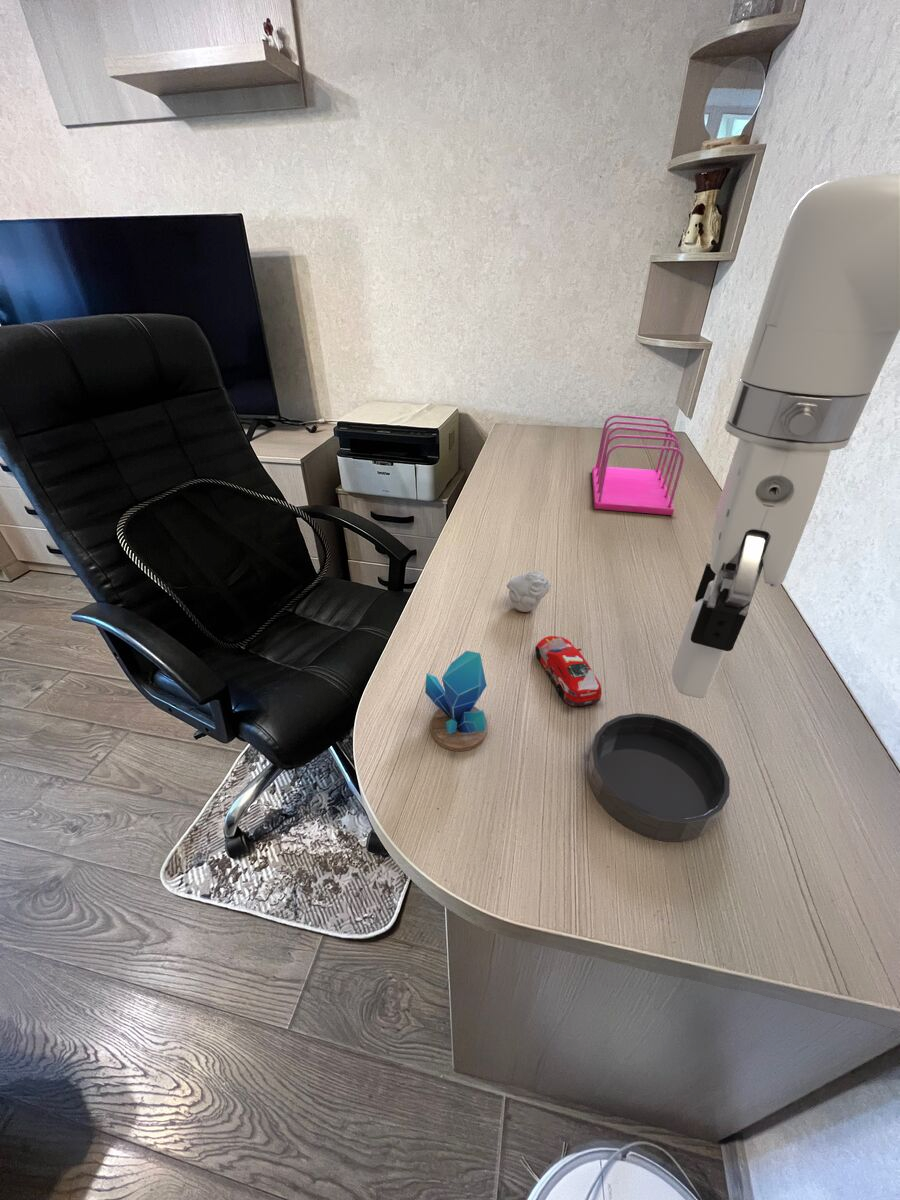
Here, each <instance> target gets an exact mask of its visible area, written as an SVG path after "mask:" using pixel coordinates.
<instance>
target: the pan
mask: <svg viewBox="0 0 900 1200" xmlns="http://www.w3.org/2000/svg"><path fill="white" fill-rule="evenodd" d="M594 735H595V736H594V738H593V743H592V746H591V750H590V754H589V758H588V762H587V778H588V782H589V785H590V788H591V790H592V793H593V795H594V796H595V798H596V800H597V801H598V803H599V804H600V805H601V806H602V808H603V809H604V810H605V812H607V813H608V814H609V816H610V817H612V818H613V819H614V820H615V821H617V822H618V823H619V824H621V825H622V826H623V827H625V828H627V829H628V830H630V831H632V832H634V833H636V834H638V835H641V836H642V837H645V838H649V839H652V840H655V841H658V842H659V841H660V842H667V843H681V842H688V841H692V840H695V839H698V838H700V837H702V836H703V835H705V834H706V833H707V832H708V831H710V830H711V829H712V827H714V825H715V824H716V822H717V820H718V819H719V816H720V814H721V813H722V811H723V809H724V807H725V805H726V803H727V801H728V799H729V797H730V793H731V792H730V791H731V789H730V788H731V787H730V783H731V782H730V780H731V778H730V775H729V773H728V770H727V768H726V766H725V762H724V760H723V759H722V757H720V755H719V754H718V752H717V751H716V750H715V749H714V747H713V746H712V744H710V742H708V741H707V740H706V739H704V738H703V737H702V736H701V735H699V734H698V732H696V731H695V730H693V729H691V728H689V727H687V726H686V725H684V724H682V723H680V722H678V721H676V720H674V719H669V718H668V717H663V716H660V715H657V714H650V713H649V714H648V713H637V712H635V713H629V714H623V715H618V716H616V717H614V718H612V719H610V720H608V721H606V722H604V724H603V725H602V726H601V727H600V728H599V730H598V731H597V732H596V733H595V734H594Z"/></svg>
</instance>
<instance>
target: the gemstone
mask: <svg viewBox="0 0 900 1200" xmlns="http://www.w3.org/2000/svg"><path fill="white" fill-rule="evenodd" d="M425 676H426V677H425V688H424V689H425V690H424V693H425V694H426V695H427V697H428V698H429V699H430V700H431V702H433V704H434V705H435V706H436V707H438V709H436V710H435V712H434V713H433V715H432V716H431V719H430V722H429V723H430V724H429V725H430V726H429V727H430V728H429V729H430V734H431V737H432V738H433V740H434V741H435V742H436V743H437V744H438V745H439V746H441V747H442V748H445V749H447V750H450V751H454V752H455V751H457V752H458V751H459V752H463V751H468V750H472V749H474V748H476V747H478V746H480V745H481V744H482V742H483V741H484V740H485V738H486V737H487V734H488V727H489V726H488V720H487V717H486V715H485V712H484V709H479V708H478V707H476V704H477V702H478V701H479V699H480V697H481V696H482V694H483V693H484V691H485V690H486V688H487V685H488V684H487V681H486V680H487V679H486V676H485V671H484V666H483V660H482V655H481V652H476V651H471V650H465V651H464V652H463V653H461V654H460V655H459V656H457V658H455V659H454V660H453V661H451V663H450V665H449V666H448V668H447V669H446V671H445V672H444V674H443V675H442V677H441V681H442V684H441V682H440V681H439V679H438V677H437V676H436V675H432V674H430V673H427V672H426V675H425ZM442 685H443V686H442Z"/></svg>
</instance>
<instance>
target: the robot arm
mask: <svg viewBox="0 0 900 1200" xmlns="http://www.w3.org/2000/svg"><path fill="white" fill-rule="evenodd" d="M784 231H785V232H784V235H783V238H782V241H781V245H780V248H779V251H778V254H777V257H776V261H775V263H774V267H773V271H772V273H771V277H770V280H769V283H768V286H767V290H766V294H765V295H764V296H765V297H764V299H763V303H762V306H761V309H760V312H759V315H758V318H757V322H756V326H755V328H754V332H753V335H752V338H751V342H750V345H749V348H748V351H747V354H746V356H745V357H746V358H745V361H744V364H743V367H742V370H741V373H740V377H739V381H738V383H737V386H736V390H735V393H734V396H733V398H732V402H731V406H730V409H729V412H728V415H727V418H726V421H725V424H724V430H725V431H726V432H727V433H729V435H731V436H733V437H735V438H737V439H738V441H737V444H736V447H735V450H734V453H733V455H732V456H733V457H732V459H731V462H730V465H729V469H728V472H727V475H726V478H725V480H724V484H723V487H722V491H721V495H720V497H719V502H718V505H717V509H716V513H715V518H714V523H713V527H712V536H711V545H710V559H709V563H708V562H707V563H706V564H705V568H704V571H703V573H702V576H701V579H700V582H699V585H698V588H697V590H696V594H695V595H694V597H695V598H694V601H695V603H696V602H697V601H698V600H700V599H703V598H704V596H705V593H706V590H707V587H708V584H709V582H711V581H713V580H714V582H713V585H712V588H711V592H710V595H709V598H708V601H706V600H703V603H702V606H701V609H700V612H699V614H698V617H697V620H696V623H695V626H694V628H693V631H692V634H691V641H692V642H693V643H696V644H700V645H704V646H708V647H712V648H716V649H720V650H724V651H725V652H731V651H732V650H733V649H734V647H735V644H736V642H737V639H738V637H739V635H740V633H741V630H742V628H743V625H744V623H745V622H746V618H747V616H748V614H749V609H750V606H751V604H752V600H753V598H754V594H755V591H756V588H757V585H758V582H759V579H760V576H761V573H762V570H763V579H764V584H767V585H770V587H774V588H776V587H778V586H780V585H782V584H784V581H785V579H786V577H787V574H788V572H789V569H790V567H791V564H792V562H793V559H794V556H795V554H796V552H797V549H798V547H799V544H800V541H801V539H802V537H803V534H804V531H805V529H806V526H807V525H808V524H807V523H808V521H809V518H810V516H811V513H812V510H813V508H814V505H815V502H816V500H817V497H818V494H819V491H820V487H821V485H822V482H823V479H824V476H825V473H826V469H827V465H828V461H829V457H830V453H831V451H837V450H842V449H845V448H846V447H847V446H848V444H849V442H850V439H851V438H852V436H853V433H854V431H855V429H856V427H857V426H858V423H859V420H860V418H861V416H862V414H863V411H864V410H865V407H866V405H867V403H868V401H869V399H870V397H871V395H872V391H873V389H874V387H875V384H876V383H877V380H878V378H879V376H880V373H881V371H882V369H883V367H884V365H885V363H886V362H887V361H886V360H887V359H888V355H889V354H890V352H891V349H892V347H893V345H894V343H895V342H896V338H897V336H898V334H899V332H900V173H880V174H866V175H856V176H848V177H843V178H838V179H833V180H828V181H825V182H823V183H820V184H818V185H815V186H814V187H813V188H811V189H810V190H808V191H807V192H806V193H804V195H803V196H802V197H801V198H800V199H799V201H798V202H797V204H796V205H795V207H794V208H793V211H792V212H791V215H790V217H789V221H788V223H787V226H786V229H785V230H784ZM724 578H725V579H730V580H733V581H732V583H731V585H730V587H729V589H727V588H724V589H723V590H722V591H720V590H721V587H722V584H723V581H724Z"/></svg>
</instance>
